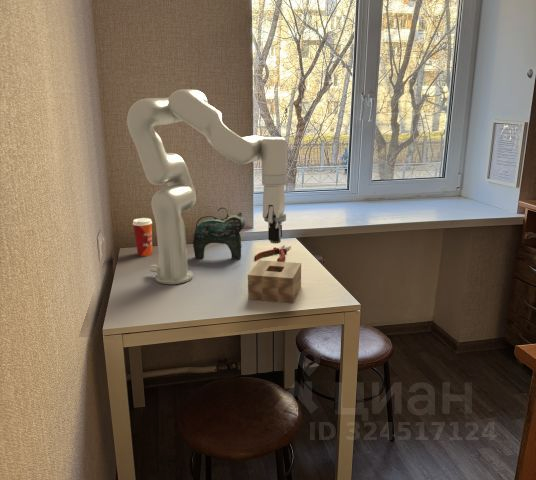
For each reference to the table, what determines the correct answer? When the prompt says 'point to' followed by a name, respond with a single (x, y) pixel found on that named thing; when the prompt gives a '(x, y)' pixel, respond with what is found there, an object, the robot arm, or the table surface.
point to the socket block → (274, 281)
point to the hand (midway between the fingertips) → (275, 238)
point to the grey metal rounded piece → (280, 219)
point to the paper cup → (143, 236)
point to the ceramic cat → (219, 234)
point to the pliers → (281, 250)
